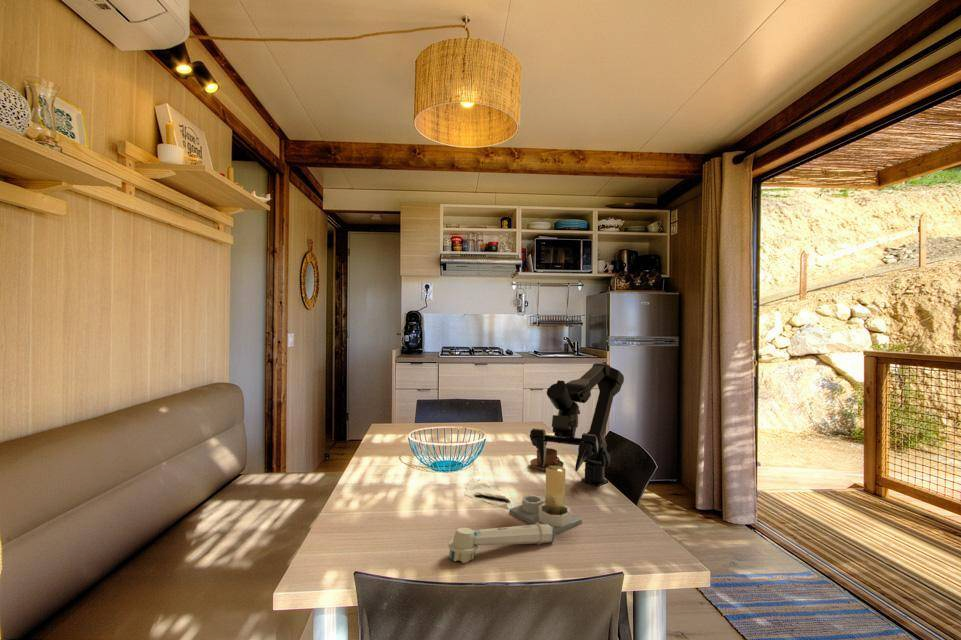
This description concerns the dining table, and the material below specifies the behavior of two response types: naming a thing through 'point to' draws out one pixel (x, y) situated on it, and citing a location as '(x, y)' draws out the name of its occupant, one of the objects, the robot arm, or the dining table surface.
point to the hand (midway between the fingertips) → (559, 468)
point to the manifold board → (544, 514)
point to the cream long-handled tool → (497, 538)
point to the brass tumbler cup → (555, 490)
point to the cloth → (485, 493)
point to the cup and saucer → (547, 460)
